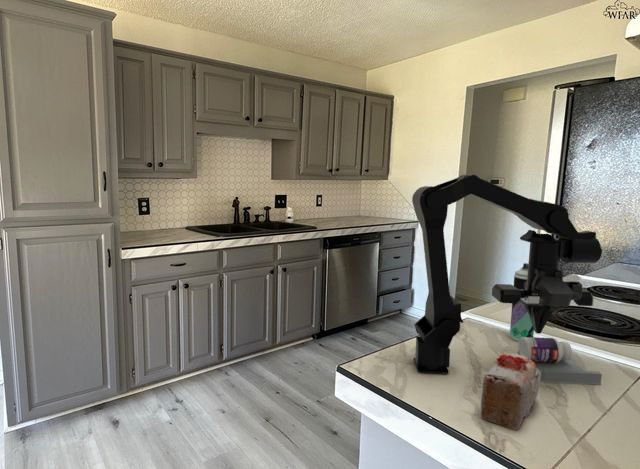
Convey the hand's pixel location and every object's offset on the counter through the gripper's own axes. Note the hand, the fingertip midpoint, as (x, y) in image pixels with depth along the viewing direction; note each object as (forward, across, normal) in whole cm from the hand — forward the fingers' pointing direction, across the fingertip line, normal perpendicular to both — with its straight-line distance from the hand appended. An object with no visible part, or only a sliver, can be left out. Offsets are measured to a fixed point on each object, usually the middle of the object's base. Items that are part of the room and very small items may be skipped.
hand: (537, 332), depth 87 cm
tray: (+8, +4, 0) cm, 9 cm away
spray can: (+8, +4, +17) cm, 19 cm away
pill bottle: (+5, -2, +3) cm, 6 cm away
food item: (+8, -12, -17) cm, 22 cm away
